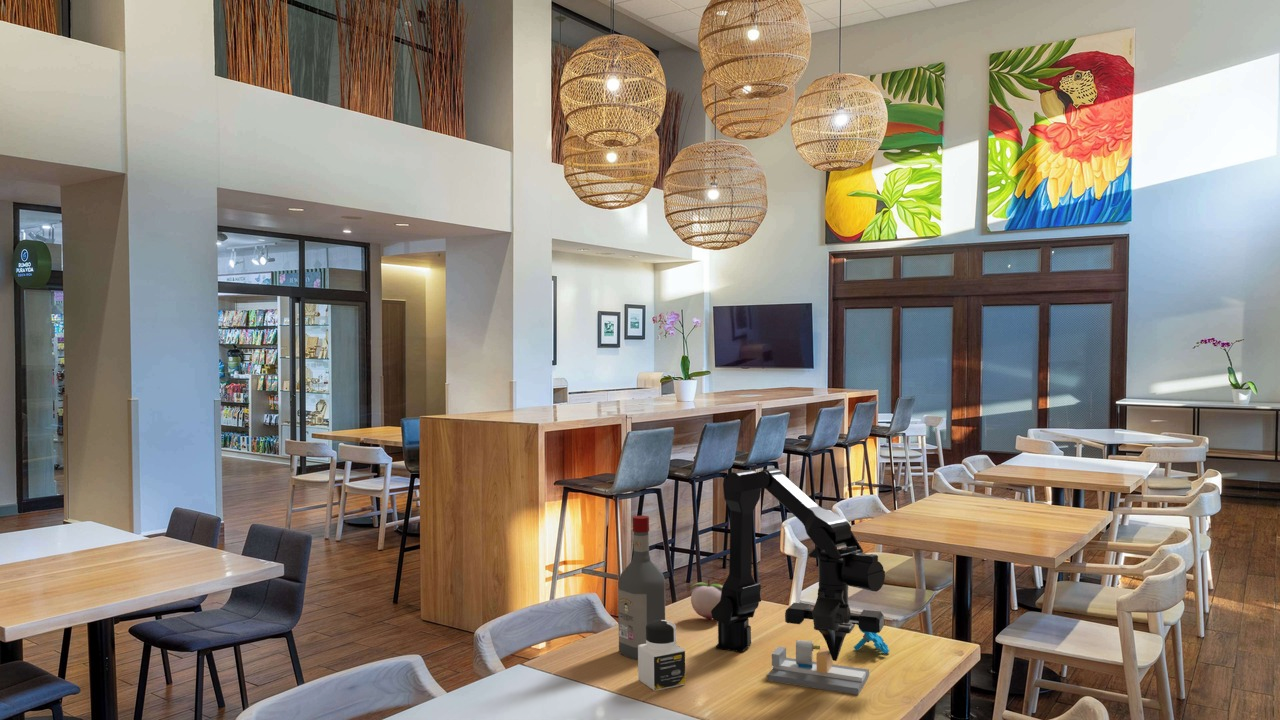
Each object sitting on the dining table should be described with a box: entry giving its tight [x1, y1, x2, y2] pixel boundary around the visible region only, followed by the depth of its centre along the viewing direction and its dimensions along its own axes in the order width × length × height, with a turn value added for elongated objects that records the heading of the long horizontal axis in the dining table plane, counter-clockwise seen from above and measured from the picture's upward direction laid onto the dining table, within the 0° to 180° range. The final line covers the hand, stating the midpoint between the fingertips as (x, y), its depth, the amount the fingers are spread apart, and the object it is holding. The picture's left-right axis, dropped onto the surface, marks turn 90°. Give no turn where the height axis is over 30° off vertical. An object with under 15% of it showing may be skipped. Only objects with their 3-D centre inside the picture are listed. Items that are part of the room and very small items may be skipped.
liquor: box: [617, 515, 666, 661], centre depth 185 cm, size 9×9×30 cm
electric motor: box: [795, 639, 821, 668], centre depth 170 cm, size 7×5×5 cm
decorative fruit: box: [690, 579, 723, 620], centre depth 208 cm, size 9×8×10 cm
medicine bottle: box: [637, 619, 686, 692], centre depth 168 cm, size 7×7×12 cm
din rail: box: [766, 645, 870, 696], centre depth 169 cm, size 18×11×4 cm, turn 64°
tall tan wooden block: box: [816, 646, 834, 674], centre depth 169 cm, size 2×5×4 cm, turn 154°
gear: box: [853, 624, 890, 655], centre depth 186 cm, size 11×6×10 cm
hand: (835, 660), depth 168 cm, fingers closed
